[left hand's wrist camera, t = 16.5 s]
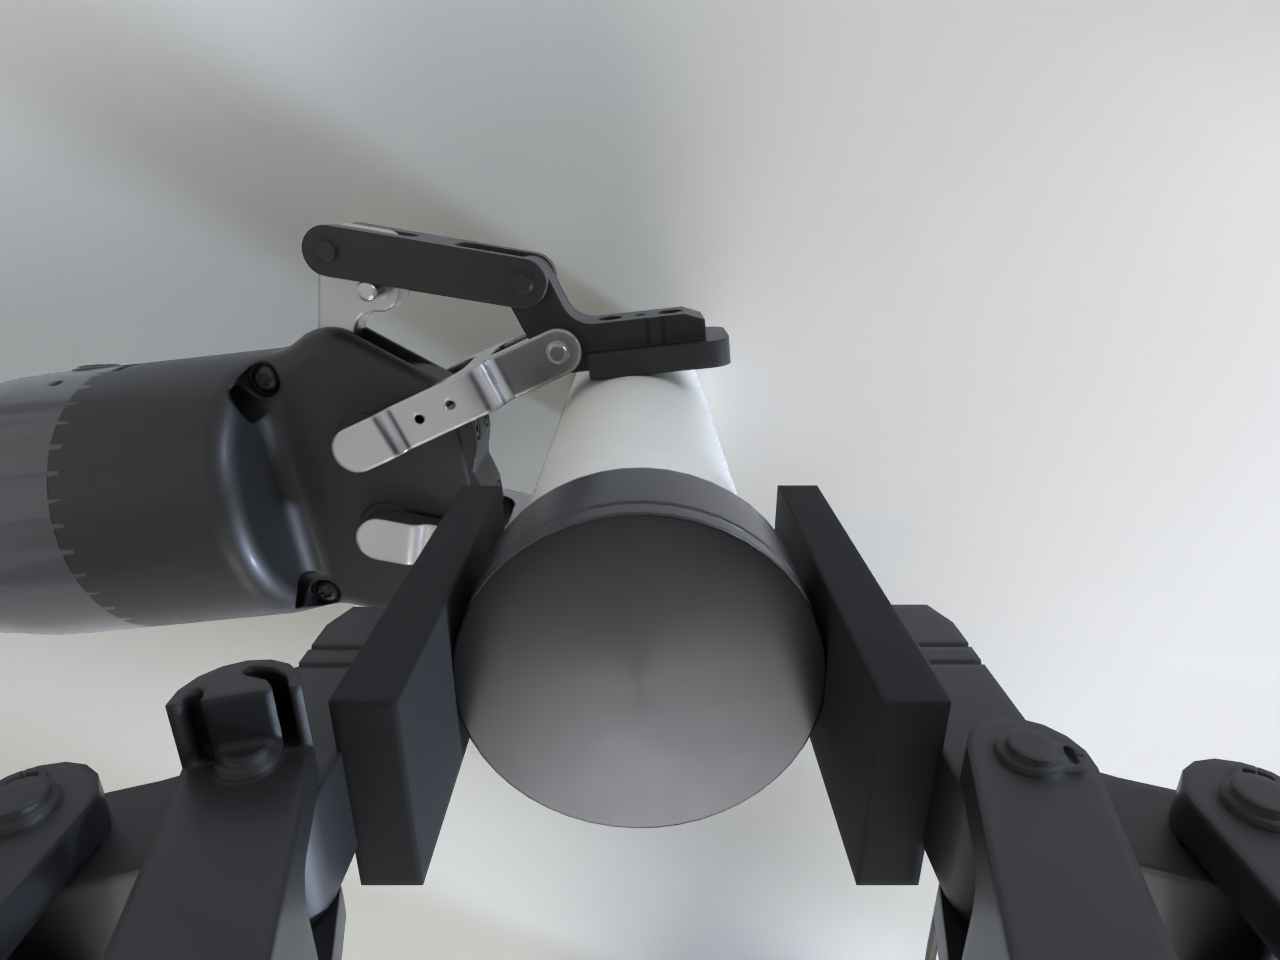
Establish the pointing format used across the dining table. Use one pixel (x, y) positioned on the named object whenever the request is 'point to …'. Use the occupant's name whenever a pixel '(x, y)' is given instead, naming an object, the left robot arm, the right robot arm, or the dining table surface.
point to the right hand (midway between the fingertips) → (729, 435)
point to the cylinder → (634, 430)
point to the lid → (639, 651)
